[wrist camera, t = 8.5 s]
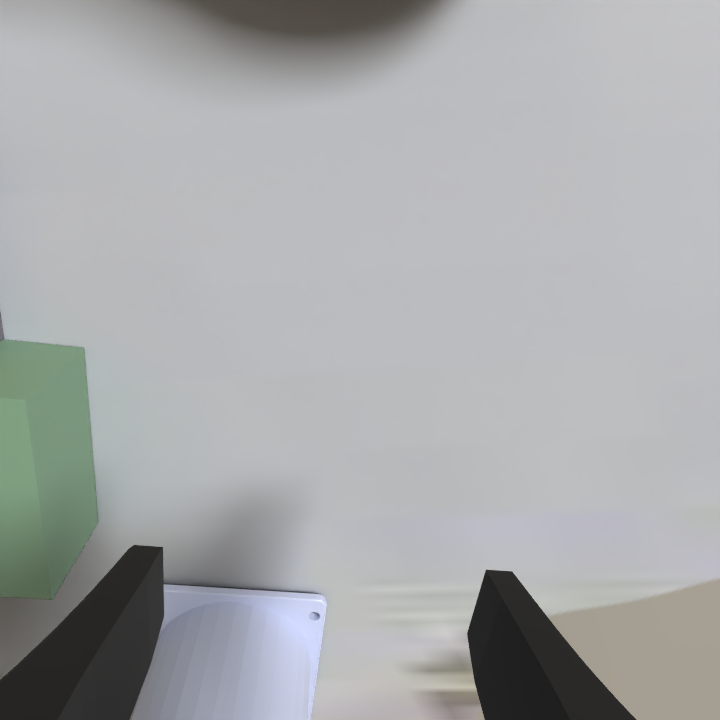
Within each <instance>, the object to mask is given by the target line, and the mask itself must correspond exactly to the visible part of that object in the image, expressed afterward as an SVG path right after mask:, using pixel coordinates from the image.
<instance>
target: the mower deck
mask: <svg viewBox="0 0 720 720" xmlns="http://www.w3.org/2000/svg"><path fill="white" fill-rule="evenodd" d="M97 524H98V512H97V500H96V488H95V475H94V463H93V451H92V438H91V426H90V414H89V401H88V389H87V377H86V364H85V352H84V348H83V347H73V346H63V345H53V344H43V343H33V342H23V341H13V340H4V335H3V328H2V321H1V314H0V597H16V598H33V599H49V600H52V599H53V598H54V596H55V594H56V593H57V591H58V589H59V588H60V586H61V584H62V583H63V581H64V579H65V578H66V576H67V574H68V573H69V571H70V569H71V567H72V566H73V564H74V562H75V561H76V559H77V557H78V556H79V554H80V552H81V551H82V549H83V547H84V546H85V544H86V542H87V541H88V539H89V537H90V535H91V534H92V532H93V530H94V529H95V527H96V525H97Z"/></svg>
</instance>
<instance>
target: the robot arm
mask: <svg viewBox="0 0 720 720" xmlns="http://www.w3.org/2000/svg"><path fill="white" fill-rule="evenodd" d="M326 607H327V602H326V599H325V597H324V596H322V595H319V594H309V593H294V592H278V591H262V590H247V589H231V588H215V587H200V586H184V585H168V584H164V580H163V547H153V546H139V545H134V546H132V547H131V548H129V549H128V550H127V552H126V553H125V554H124V555H123V556H122V557H121V559H120V560H119V561H118V562H117V563H116V564H115V565H114V567H113V568H112V569H111V570H110V571H109V572H108V573H107V575H106V576H105V577H104V578H103V579H102V580H101V581H100V582H99V583H98V584H97V586H96V587H95V588H94V589H93V590H92V591H91V592H90V593H89V594H88V595H87V596H86V597H85V599H84V600H83V601H82V602H81V603H80V604H79V605H78V606H77V607H76V608H75V609H74V610H73V611H72V612H71V613H70V614H69V615H68V616H67V617H66V618H65V619H64V620H63V621H62V622H61V623H60V624H59V625H58V626H57V627H56V628H55V629H54V630H53V631H52V632H51V633H50V634H49V635H48V636H47V637H46V638H45V639H44V640H43V641H42V642H41V643H40V644H39V645H38V646H37V647H36V648H34V649H33V650H32V651H31V652H30V653H29V654H28V655H27V656H26V657H25V658H24V659H23V660H22V661H21V662H20V663H19V664H18V665H16V666H15V667H14V668H13V669H12V670H11V671H10V672H9V673H8V674H6V675H5V676H4V677H3V678H2V679H1V680H0V720H129V719H130V716H131V714H132V711H133V709H134V706H135V704H136V706H135V709H134V712H133V715H132V718H131V720H310V719H311V712H312V705H313V698H314V691H315V684H316V677H317V670H318V663H319V657H320V650H321V643H322V636H323V629H324V622H325V615H326ZM312 612H316V613H312ZM467 635H468V642H469V649H470V656H471V662H472V668H473V674H474V680H475V684H476V688H477V692H478V696H479V700H480V703H481V707H482V711H483V714H484V718H485V720H636V719H635V718H634V717H633V716H632V715H631V714H630V713H629V712H628V711H627V709H626V708H625V707H624V706H623V705H622V704H621V703H620V702H619V701H618V700H617V699H616V698H615V697H614V695H613V694H612V693H611V692H610V691H609V690H608V689H607V688H606V687H605V686H604V685H603V683H602V682H601V681H600V680H599V679H598V678H597V677H596V676H595V674H594V673H593V672H592V671H591V670H590V669H589V667H588V666H587V665H586V664H585V663H584V662H583V660H582V659H581V658H580V657H579V656H578V655H577V653H576V652H575V651H574V650H573V648H572V647H571V646H570V645H569V644H568V642H567V641H566V640H565V639H564V637H563V636H562V635H561V634H560V632H559V631H558V630H557V629H556V628H555V626H554V625H553V624H552V622H551V621H550V620H549V618H548V617H547V616H546V615H545V613H544V612H543V611H542V610H541V608H540V607H539V606H538V604H537V603H536V602H535V600H534V599H533V598H532V597H531V595H530V594H529V593H528V591H527V590H526V589H525V588H524V586H523V585H522V584H521V582H520V581H519V580H518V579H517V577H516V576H515V575H514V573H513V572H511V571H496V570H486V572H485V575H484V579H483V582H482V585H481V589H480V592H479V596H478V599H477V602H476V606H475V609H474V613H473V616H472V619H471V623H470V626H469V629H468V633H467ZM141 688H142V689H141ZM139 693H140V694H139ZM138 696H139V697H138ZM137 698H138V700H137ZM136 701H137V703H136Z"/></svg>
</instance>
